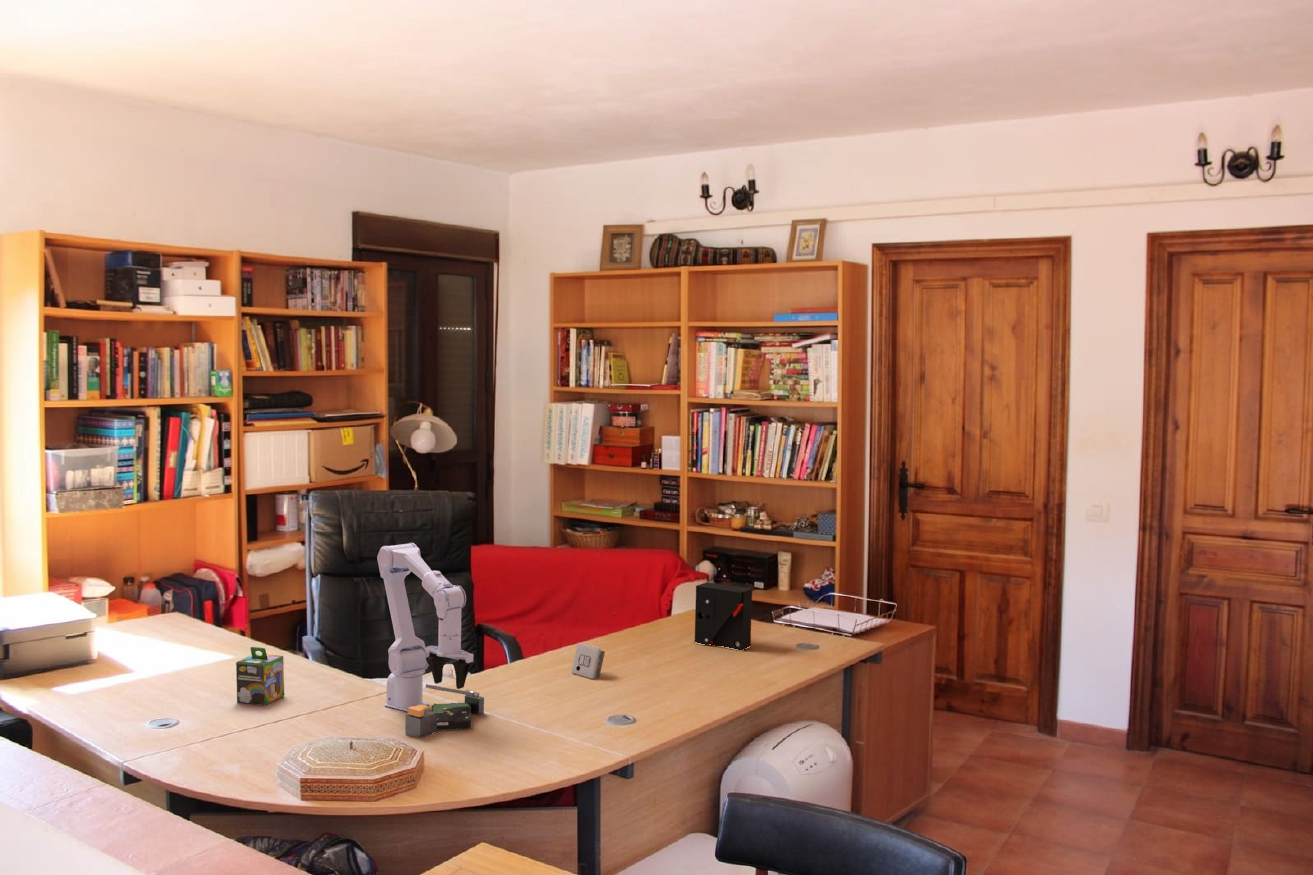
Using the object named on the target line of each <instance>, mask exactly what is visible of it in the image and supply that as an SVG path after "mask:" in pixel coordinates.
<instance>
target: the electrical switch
mask: <svg viewBox="0 0 1313 875" xmlns="http://www.w3.org/2000/svg"><path fill="white" fill-rule="evenodd" d="M574 653H575V654H574V657H573V658H574V659H573V663H572V667H571V673H572V674H574V675H577V676H580V677H584V678H586V679H587V678H588V679H591V680H595V678H596V677H598V678H599V677H600V676H601V671H602V667H603V664H604V663H603V662H604V657H605V653H606V651H604V650H602V649H601V647H597V646H592V645H590V644H589V645H588V644H584V643H582V642H579V643H578V644H576V649H575V652H574Z"/></svg>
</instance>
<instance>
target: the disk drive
mask: <svg viewBox="0 0 1313 875" xmlns="http://www.w3.org/2000/svg"><path fill="white" fill-rule="evenodd" d="M431 711H432V712H436V713H437V731H446V730H447V731H448V730H449V731H451V730H452V731H453V730H469V729H472V719H473V718H472V714H471V704H467V703H465V702H451V703H433V704H432V705H431Z"/></svg>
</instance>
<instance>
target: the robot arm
mask: <svg viewBox="0 0 1313 875" xmlns="http://www.w3.org/2000/svg"><path fill="white" fill-rule="evenodd" d="M376 558H377V564H378V569H379V573H380V575H379V576H380V578H382V579H383V582H384V587H385V593H386V598H387V604H388V608H389V613H390V617H391V622H392V628H393V634H394V637H395V638H394V639H395V641H394V642H393V643H392V644H391V645H390V647H389V648H388V650H387V651H388V668H389V670H390V672H391V673H390V674H389V675H388V677H387V679H386V680H387V681H386V699H385V700H386V703H384V704H383V705H384V706H385V707H388V708H392V709H396V710H400V711H404V712H407V713H408V708H409V707H412V706H413V707H414V706H417V705H420V704H421V705H425V706H429V705H430V702H429V701H424V700H423V696H424V695H423V690H424V689H423V686H424V684H423V681H424V680H423V676H424V674H426V670H427V669H428V667H429V669H430V670H431V675H432V679H433V683H434V684H435V685H438V684H440V683H442V681H443V676H444V675H443V674H444V672H443V671H444V664H445V660H446V659H447V658H448V659H450V660H451V659H452V660H456V661H454V662H453V663H452V665H453V669H454V674H455V687H456V689H457V690H462V689H463V688H465V684H466V680H467V677H468V674H469V672H470V670H471V667H472V666H473V664H474V653H470V652H468V651H466V650H463V649H462V647H461V646H462V608H465V605H466V602H467V595H466V594H467V593H466V592H465V590H464V588H463V587H462V586H461V585H455V584H454V585H453V584H452V583H451V582H450V580H448V579H447V578H446V577H445V576H444V575H443V574H442V572H441V571H440V570H432V569H431V567H430V566H429V565H428V564H427V563H426V562H425V561H424V559H423V558H422V556H421V549H420V548H419V547H418V546H417V544H415V543H414V542H408V543H403V544H402V543H401V544H396V545H383V546H381V547H380V549H379V551H378V554H377V557H376ZM411 572H412V573H413V574H414V575H415V576H417V578H419V579H420V580H421V586H422V588H423V589H424V590H425V592H427V593H428V595H429V596H431V597H432V598H433V603H434V607H435V610H436V616H437V617H438V637H437V638H438V642H437V643H438V644H437V645H428V646H426V644H425V641H424V640H423V639H421V638H419V637H417V636H416V633H415V630H414V629H415V628H414V624H413V620H412V615H411V614H412V613H411V609H410V605H409V604H410V603H409V599H408V595H407V590H406V585H405V579H406V577H407V576H408V575H410V574H411ZM457 660H458V661H457Z"/></svg>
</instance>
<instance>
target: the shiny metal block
mask: <svg viewBox="0 0 1313 875" xmlns="http://www.w3.org/2000/svg"><path fill="white" fill-rule="evenodd" d="M464 703H467V704H471V715H476V716H480V715H484V714H485V697H484V696H480V695H479V697H478V698H476V697H471V696H467V695H464ZM404 727H405V736H409V737H412V738H416V737H418V738H417V739H419V738H421V739H423V738H425V736H426V737H428V736H430V734H431V735H433V734H435V733H434V732H436V733H438V730H437V713H436V712H432V710H429V709H427V710H424V716H421V717H417V716H413V715H409V714H408V713H407V714H406V715H405V726H404ZM432 733H433V734H432ZM427 735H428V736H427ZM422 737H423V738H422Z"/></svg>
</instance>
